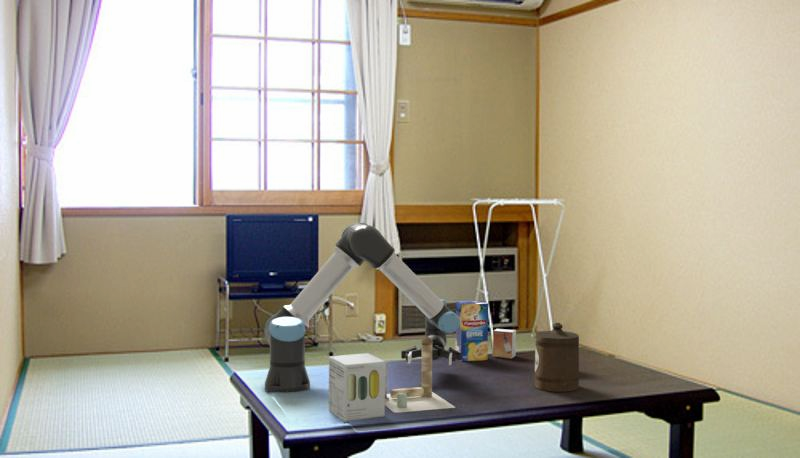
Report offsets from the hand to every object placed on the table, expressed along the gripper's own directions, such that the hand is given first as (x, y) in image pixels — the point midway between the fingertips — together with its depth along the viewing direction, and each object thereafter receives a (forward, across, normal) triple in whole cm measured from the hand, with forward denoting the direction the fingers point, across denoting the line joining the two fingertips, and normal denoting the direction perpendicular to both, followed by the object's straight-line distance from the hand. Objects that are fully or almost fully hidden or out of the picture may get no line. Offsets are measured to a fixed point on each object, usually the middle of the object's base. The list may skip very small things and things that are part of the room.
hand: (429, 360), depth 302 cm
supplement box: (+30, +20, -11) cm, 37 cm away
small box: (-61, -25, -11) cm, 67 cm away
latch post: (+21, +7, -10) cm, 24 cm away
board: (+14, +4, -11) cm, 18 cm away
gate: (+10, +5, -10) cm, 15 cm away
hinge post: (+14, +14, -10) cm, 22 cm away
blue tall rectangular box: (-56, -12, -11) cm, 58 cm away
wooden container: (-14, -42, -11) cm, 46 cm away
